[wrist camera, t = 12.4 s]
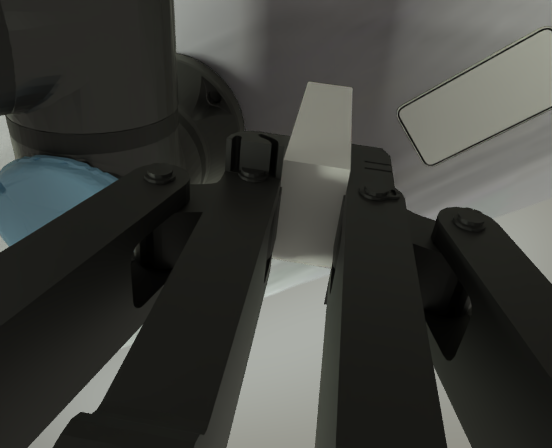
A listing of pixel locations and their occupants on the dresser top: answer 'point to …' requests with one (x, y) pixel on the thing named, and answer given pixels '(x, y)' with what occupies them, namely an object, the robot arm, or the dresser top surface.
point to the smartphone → (482, 100)
